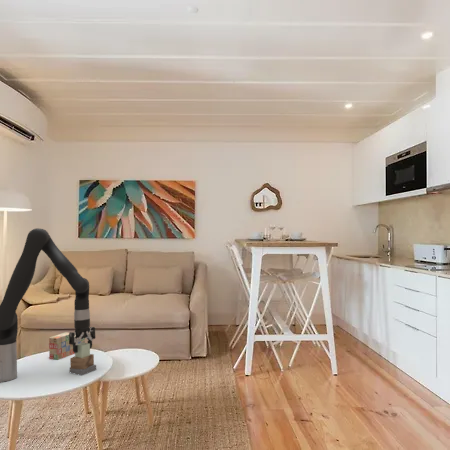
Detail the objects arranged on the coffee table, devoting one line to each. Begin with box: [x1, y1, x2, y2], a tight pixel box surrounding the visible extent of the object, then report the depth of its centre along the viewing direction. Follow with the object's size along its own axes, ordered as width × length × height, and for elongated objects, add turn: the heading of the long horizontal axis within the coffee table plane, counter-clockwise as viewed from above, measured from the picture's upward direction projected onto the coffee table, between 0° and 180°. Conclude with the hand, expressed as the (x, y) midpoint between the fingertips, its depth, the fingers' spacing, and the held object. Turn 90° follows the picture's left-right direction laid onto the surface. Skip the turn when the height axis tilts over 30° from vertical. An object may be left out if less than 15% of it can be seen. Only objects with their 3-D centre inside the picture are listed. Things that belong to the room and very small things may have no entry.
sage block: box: [74, 342, 91, 358], centre depth 208 cm, size 5×5×6 cm
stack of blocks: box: [48, 331, 86, 361], centre depth 239 cm, size 21×6×12 cm, turn 156°
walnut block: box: [69, 353, 95, 369], centre depth 208 cm, size 8×8×5 cm
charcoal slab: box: [69, 363, 97, 376], centre depth 208 cm, size 9×9×3 cm
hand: (82, 350), depth 208 cm, fingers open, 8 cm apart
